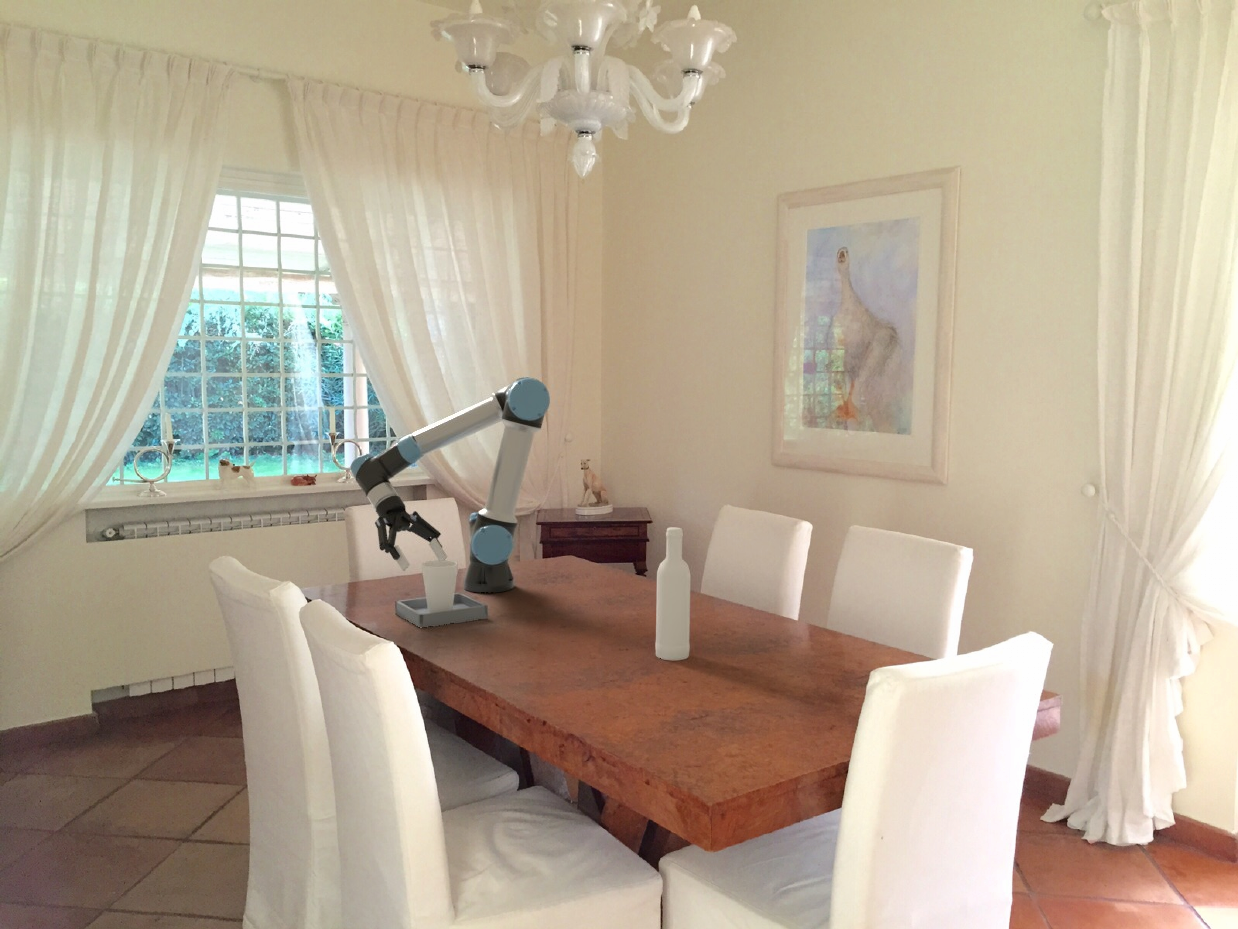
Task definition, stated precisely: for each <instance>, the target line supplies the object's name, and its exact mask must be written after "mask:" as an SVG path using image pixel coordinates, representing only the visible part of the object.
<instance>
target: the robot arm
mask: <svg viewBox="0 0 1238 929" xmlns="http://www.w3.org/2000/svg"><path fill="white" fill-rule="evenodd" d="M550 403H551V396H550V392H549V390H548V388H547V386H546V385H545V384H544V383H543V382H542V381H540V380H539V379H537V378H535V377H519V378H517V379H515V380H513V381H511V382H510V383H509V384H507V385H506V386H505V385H504V387H502V388H501V389H498V390H496V391H493V392H492V394H491V396H490V397H489V398H488V399H485V400H483V401H480V402H478V403H476V404H473V405H472V406H470V407H466V408H465V409H463V410H461V411H458V412H456V413H454V414H451V415H450V416H448V417H447V416H446V417H445V418H443V419H441V420H438V421H436V422H434V423H432V424H429V425H428V426H425V427H423V428H421V429H418V430H417V431H416V430H415V431H414V432H412V433H410V434H407V435H405V436H403V437H399V438H396V439H394V440H393V441H392V442H391V443H390V444H389V447H387V448H386V449H384V450H383V451H382V452H380V453H379V454H377V455H375V456H374V455H373V454H371V453H363V454H362V455H359V456H357V457H356V458H355V459H353V461H352V462H351V463H350V471H351V473H352V475H353V477H354V480H355V481H356V483H357V484H358V486H359V488H361V490H362V492H363V493H364V495H365V496H366V498H367V499H368V501H369V502H370V504H371V506H372V508H373V509H374V510H375V512H376V514H377V516H378V518H377V519H376V520H375V521H374V525H375V527H376V529H377V535H378V537H377V539H378V544H379V545H378V546H379V550H380V551H384V552H385V553H386V554H390V555H391V557H392V559H393V560H395V561H396V563H397V564H398V566H399V567H400V569H401V571H402V572H405V571H406V570H407V569H408V568H409V567H410V565H411V563H410V562H409V561H408V559H407V558H406V556H405V555H404V553H403V551H402V549H401V548H400V547H399V545H395V543H396V538H397V533H399V532H406V531H407V532H410V533H411V532H412V533H413V534H415V535H417V536H418V537H420V538H422V539H424V540H425V541H427V542H429V543H428V545H429V547H430V549H431V550H432V552H433V553H434V555H435V557H436V558H437V559H438V560H446V559H447V557H448V555H447V554H446V552H445V550H444V549H443V545H442V544H441V542H440V541H439V538H440V536H441V532H440V531H439V530H438V529H436V528H435V527H434V526H433V525H431V523H429V522H428V521H427V520H425V519H424V518H423V517H422V516H421V515H420V513H418V511H416V510H415V511H413V512H412V513H409V512H407V510H406V504H405V503H404V501H403V499H401V497H400V496H399V494H398V492H397V491H396V489H395V488H394V486H393V484H392V482H391V481H390V480H391V479H392V478H394V477H395V476H397V475H398V474H399V473H401V472H402V471H404V470H406V469H407V468H409V467H411V466H412V465H413V464H416V463H417V461H418V460H421V458H423V457H425V456H427V455H428V454H429V455H430V454H432V453H433V452H436V451H438V450H440V449H442V448H445V447H447V446H450V445H451V444H453V443H456V442H458V441H460V440H463V439H465V438H467V437H469V436H471V435H474V434H476V433H478V432H481V431H482V430H484V429H487V428H490V427H492V426H494V425H496V424H499V423H500V422H502V423H503V425H504V428H503V429H504V430H503V433H502V438H501V441H500V445H499V449H498V452H497V457H496V462H495V466H494V470H493V472H492V477H491V482H490V485H489V488H488V493H487V497H486V501H485V505H484V508H482V509H480V510H479V511H477V512H472V513H470V515H469V520H468V525H469V564H468V567H467V569H466V572H465V576H464V579H463V589H464V590H466V591H468V592H473V593H481V592H485V593H486V592H488V593H490V594H491V592H493V593H501V592H507V591H511V590H513V589H514V588H515V579H514V575H513V573H512V569H511V565H510V563H509V557H510V556H511V554H512V553H513V550H514V547H515V545H514V543H515V542H514V537H515V534H516V530H517V525H518V519H517V517H516V516H515V512H516V509H517V508H516V507H517V503H518V501H519V496H520V491H521V487H522V485H523V484H522V483H523V479H524V476H525V472H526V468H527V464H528V460H529V456H530V451H531V448H532V445H533V440H534V436H535V434H536V433H538V432H539V431H541V430H542V426H543V423H544V418H545V414H546V413H547V412H548V409H549V408H550ZM387 527H388V530H387ZM438 560H437V561H438ZM485 593H484V594H485ZM488 593H487V594H488Z"/></svg>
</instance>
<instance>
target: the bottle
mask: <svg viewBox="0 0 1238 929" xmlns="http://www.w3.org/2000/svg"><path fill="white" fill-rule="evenodd" d="M683 536H684V533H683V528H681V527H676V526H675V527H674V526H673V527H672V526H671V527H667V528H666V532H665V537H666V541H665V542H666V546H665V547H666V551H665V552H666V554H665V558H664V559H663V560H662V562H660V563H659V565H658V569H657V570H656V606H655V608H656V611H655V613H656V616H655V618H656V621H655V645H654V646H655V647H654V648H655V657H657V658H658V659H660V658H661V659H660V660H664V661H672V662H673V661H675V662H676V661H684V660H686V659H688V658H689V657H690V649H691V646H690V624H691V623H690V621H691V620H690V618H691V613H690V612H691V571H690V568H689V564H688V563H687V562H686V561H685V560H684V559H683Z"/></svg>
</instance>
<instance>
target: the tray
mask: <svg viewBox="0 0 1238 929" xmlns="http://www.w3.org/2000/svg"><path fill="white" fill-rule="evenodd" d="M394 602H395V606H394V607H395V609H394V610H395V615H396V616H398V617H400V618H401V617H402V619H403V620H405V619H406V620H405V621H407V620H408V621H409V622H408V621H407V622H408V623H410V624H412V623H413V624H415V625H416V626H415V625H414V626H415V627H417V626H419V627H427V626H433V627H438V626H439V625H440V626H447V625H451V624H450V623H454V624H460V623H467V622H473V620H474V621H479V620H478V619H481V620H486V619H489V617H488V616H489V615H488V614H489V612H488V611H489V610H488V609H489V608H488V607H489V606H488V604H486V603H483V602H480V601H479V600H477V599H474V598H473V597H470V596H468V595H466V594H463V593H462V592H456V593H454V601H453V609H452V610H446V611H439V612H432V613H428V607H427V599H426V596H425V597H424V596H423V597H418V598H410V599H403V600H396V601H394ZM466 621H467V622H466ZM413 624H412V625H413ZM444 624H445V625H444ZM446 624H447V625H446ZM427 628H428V627H427Z"/></svg>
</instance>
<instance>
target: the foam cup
mask: <svg viewBox="0 0 1238 929" xmlns="http://www.w3.org/2000/svg"><path fill="white" fill-rule="evenodd" d="M421 565H422V566H421V574H422V578H423V584H424V591H425V592H424V593H425V597H426V599H427V607H428V613H432V612H439V611H446V610H452V609H453V601H454V594H455V592H456V583H457V576H458V575H457V574H458V573H459V563H458V561H455V560H448V559H447V560H446V559H445V560H430V561H425V562H423V563H422V564H421Z"/></svg>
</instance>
